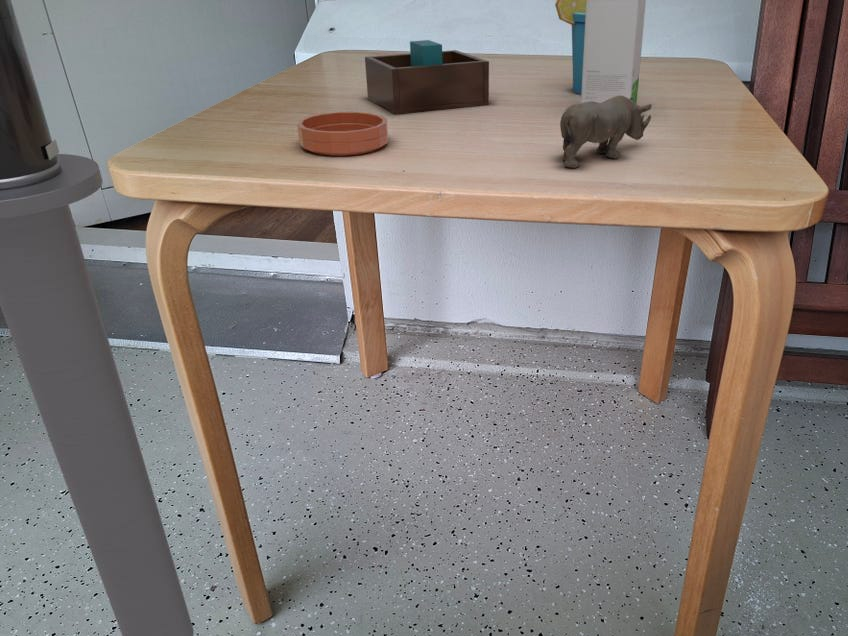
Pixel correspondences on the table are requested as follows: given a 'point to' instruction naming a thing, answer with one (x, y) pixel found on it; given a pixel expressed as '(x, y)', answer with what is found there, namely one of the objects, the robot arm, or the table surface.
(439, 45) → the tea packet
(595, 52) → the cosmetic box
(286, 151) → the table surface
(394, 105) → the box
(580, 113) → the rhino figurine
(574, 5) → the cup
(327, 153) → the bowl
